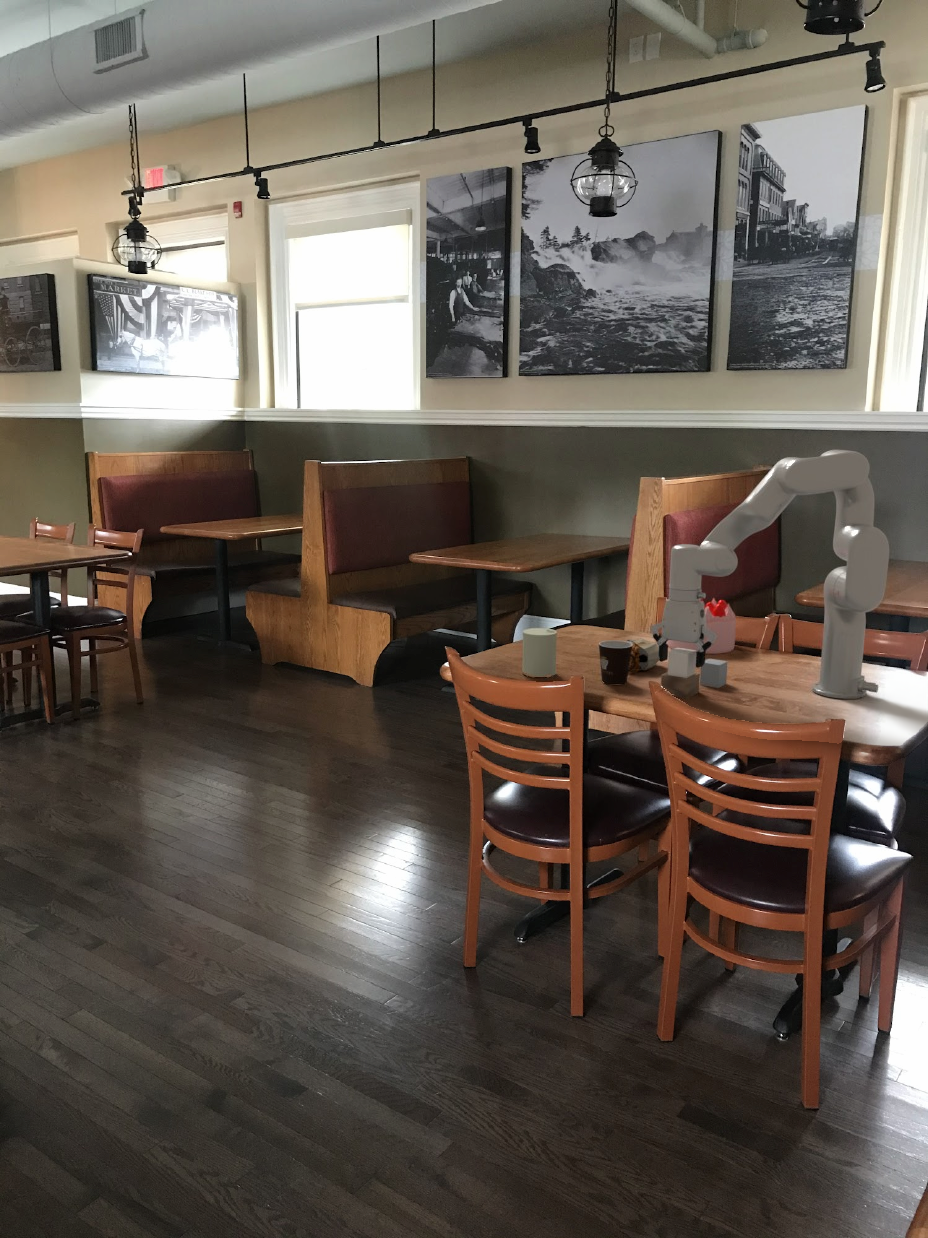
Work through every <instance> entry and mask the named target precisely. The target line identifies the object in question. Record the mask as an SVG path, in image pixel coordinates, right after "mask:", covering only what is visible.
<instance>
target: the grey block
mask: <svg viewBox="0 0 928 1238" xmlns="http://www.w3.org/2000/svg"><path fill="white" fill-rule="evenodd" d="M728 663H729V662H728V661H727V660H721V659H714V658H707V659H705V663H704V665H703V666H702V667H700V672H699V674H700V678H699V686H704V687H705V686H706V687H709V688H717V689H719V688H722V687H723V686H725V685H727V676H728V674H727V673H728Z"/></svg>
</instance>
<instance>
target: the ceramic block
mask: <svg viewBox="0 0 928 1238" xmlns="http://www.w3.org/2000/svg"><path fill="white" fill-rule="evenodd" d="M667 660H668V662H667V664H668V665H667V672H668V675H672V676H678V677H683V678H688V677H690V676H692V675H694V674H695V673H696V650H690V649H684V648H675V649H671V650H668V659H667Z"/></svg>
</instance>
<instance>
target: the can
mask: <svg viewBox="0 0 928 1238" xmlns="http://www.w3.org/2000/svg"><path fill="white" fill-rule="evenodd" d="M557 631H558V630H555V629H551V628H548V627H547V628H546V627H531V628H526V629H523V631H522V670H521V672H522V671H523V672H524V673H527V674H529V675H534V676H547V675H555V674H556V675H557V666H556V665H557V641H558V640H557V635H558V632H557ZM556 675H555V676H556Z"/></svg>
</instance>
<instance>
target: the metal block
mask: <svg viewBox="0 0 928 1238" xmlns="http://www.w3.org/2000/svg"><path fill="white" fill-rule="evenodd" d="M660 677H661V678H660V680H661V681H660V686H661V685H662V686H663V688H665V689H667V691H669V692H670V693H671V694H674V695H675V696H674V697H676V696H677V697H676V698H682V699H689V698H691V697H693V696H694V695H697V694H698V693H700V672H698V673H697V672H695V674H694V675H692V676H690V677H688V678H683V677H678V676H672V675H668V671H666V672H665V673H663V674H661V676H660Z"/></svg>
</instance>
